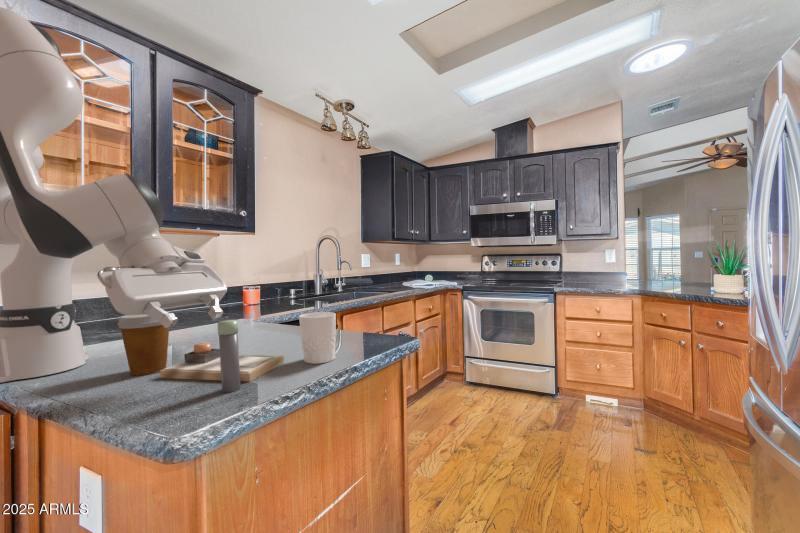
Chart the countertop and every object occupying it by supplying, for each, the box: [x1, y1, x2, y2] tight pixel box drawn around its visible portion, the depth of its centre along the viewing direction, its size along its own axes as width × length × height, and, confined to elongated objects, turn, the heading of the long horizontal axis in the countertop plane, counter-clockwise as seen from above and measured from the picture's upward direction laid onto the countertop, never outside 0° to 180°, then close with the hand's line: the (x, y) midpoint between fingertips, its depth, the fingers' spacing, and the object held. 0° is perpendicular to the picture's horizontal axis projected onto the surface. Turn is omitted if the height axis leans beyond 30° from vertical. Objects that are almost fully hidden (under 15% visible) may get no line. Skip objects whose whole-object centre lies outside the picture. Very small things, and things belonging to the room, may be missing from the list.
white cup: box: [298, 311, 337, 365], centre depth 82 cm, size 8×8×10 cm
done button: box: [193, 342, 212, 354], centre depth 79 cm, size 3×3×2 cm
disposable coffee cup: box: [117, 310, 170, 376], centre depth 79 cm, size 10×10×12 cm
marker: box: [217, 319, 242, 393], centre depth 65 cm, size 3×3×12 cm
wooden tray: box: [159, 348, 285, 382], centre depth 77 cm, size 20×12×4 cm, turn 77°
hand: (196, 320), depth 66 cm, fingers open, 8 cm apart
